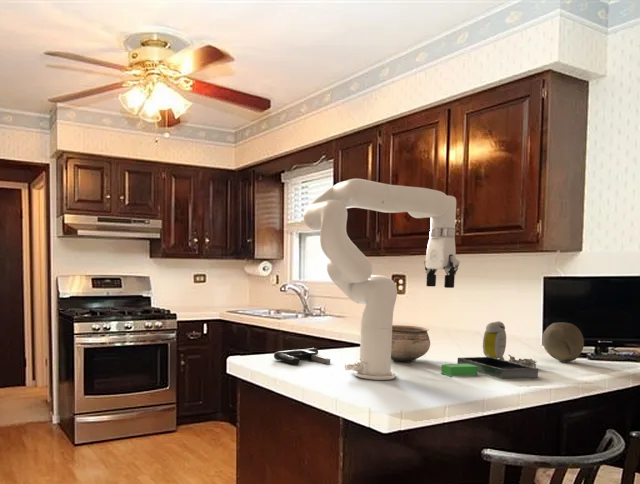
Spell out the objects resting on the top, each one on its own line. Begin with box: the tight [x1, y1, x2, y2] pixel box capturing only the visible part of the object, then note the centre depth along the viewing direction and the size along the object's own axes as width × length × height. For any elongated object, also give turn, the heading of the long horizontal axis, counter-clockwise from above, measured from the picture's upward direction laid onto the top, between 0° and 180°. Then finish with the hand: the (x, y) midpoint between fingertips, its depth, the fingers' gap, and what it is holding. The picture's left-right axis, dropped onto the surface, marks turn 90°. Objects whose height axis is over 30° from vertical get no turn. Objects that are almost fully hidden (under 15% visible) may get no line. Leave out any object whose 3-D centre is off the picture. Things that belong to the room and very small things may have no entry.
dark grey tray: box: [456, 356, 539, 380], centre depth 179 cm, size 14×22×4 cm, turn 14°
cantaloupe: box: [542, 322, 585, 363], centre depth 206 cm, size 14×14×15 cm
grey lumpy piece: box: [508, 354, 537, 368], centre depth 189 cm, size 11×8×4 cm
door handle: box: [273, 347, 331, 366], centre depth 193 cm, size 3×20×16 cm
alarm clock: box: [482, 320, 507, 360], centre depth 201 cm, size 12×7×15 cm, turn 139°
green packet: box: [440, 363, 479, 378], centre depth 174 cm, size 10×5×3 cm, turn 105°
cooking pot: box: [391, 324, 431, 363], centre depth 199 cm, size 25×19×12 cm
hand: (439, 287), depth 176 cm, fingers open, 9 cm apart
